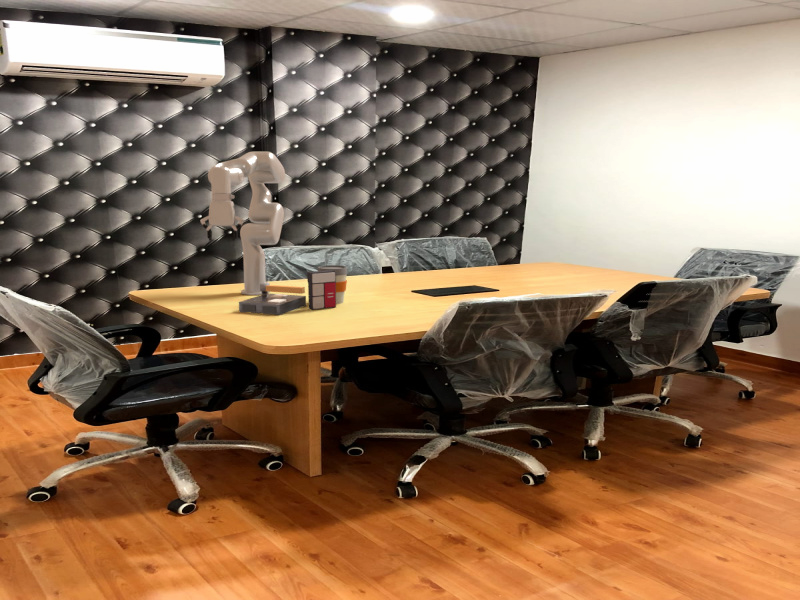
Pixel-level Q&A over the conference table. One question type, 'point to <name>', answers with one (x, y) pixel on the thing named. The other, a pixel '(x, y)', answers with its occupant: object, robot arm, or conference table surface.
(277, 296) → the label
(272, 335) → the conference table surface
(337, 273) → the reusable coffee cup
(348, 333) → the conference table surface
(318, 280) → the grey and red box
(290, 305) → the server box
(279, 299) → the label
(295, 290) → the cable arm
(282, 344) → the conference table surface
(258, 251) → the robot arm
